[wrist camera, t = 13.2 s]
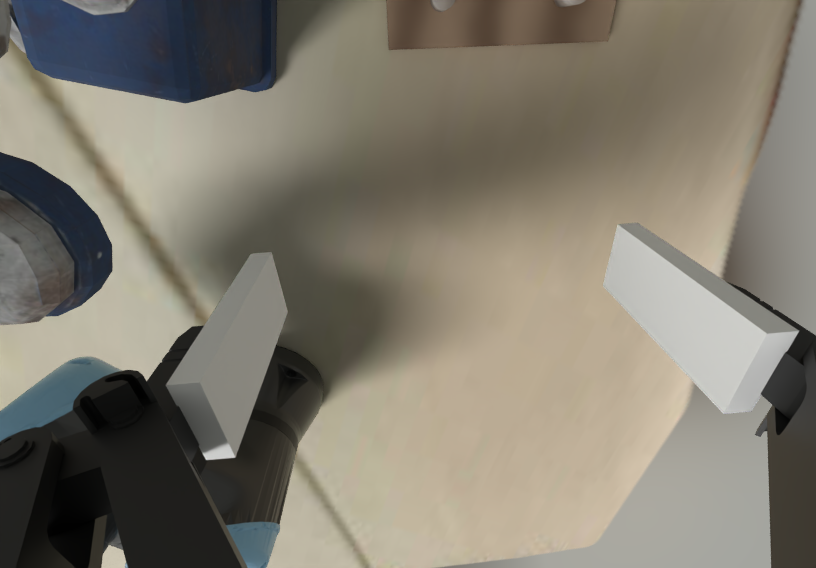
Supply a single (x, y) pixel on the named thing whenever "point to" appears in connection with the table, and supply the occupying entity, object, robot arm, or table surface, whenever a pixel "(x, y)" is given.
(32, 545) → the robot arm
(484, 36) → the pin nest
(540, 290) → the table surface
